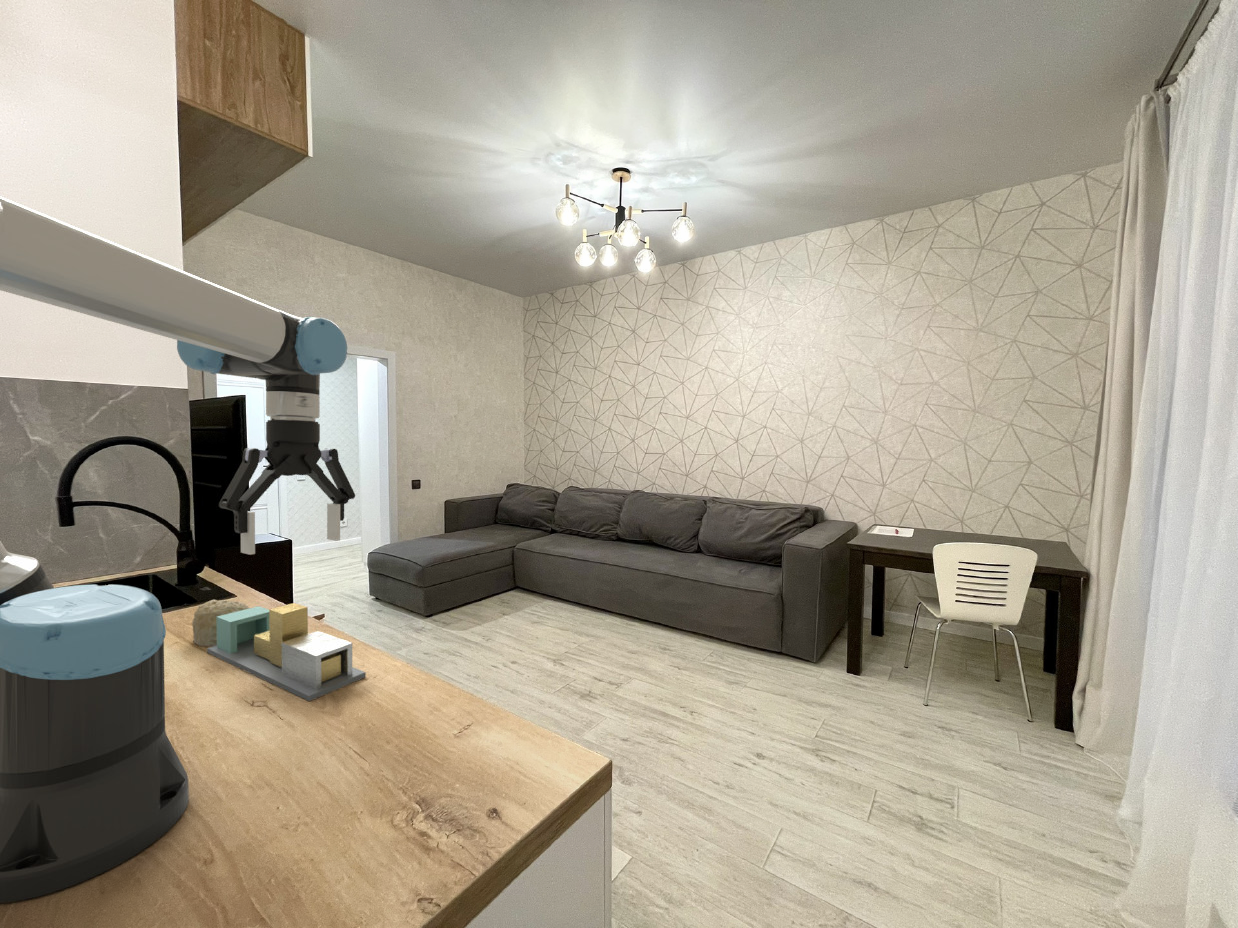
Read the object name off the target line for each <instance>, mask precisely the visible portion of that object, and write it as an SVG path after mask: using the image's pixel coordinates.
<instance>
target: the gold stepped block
mask: <svg viewBox="0 0 1238 928" xmlns="http://www.w3.org/2000/svg"><path fill="white" fill-rule="evenodd" d="M268 610H269V631H267V632H264V633H260V634H257V635H254V654H257V655H259V656H261V657H263V658H266V659H268V660H270V663H273V664H275V665H277V666H279V667H282V642H285V641H288V640H291V639H294V638H297V637H301V636H304V635H307V634H309V630H308V628H309V627H308V626H309V625H308V622H309V620H308V619H309V616H308V614H309V613H308V611H309V610H308V606H305V605H303V604H300V603H294V602H293V603H288V604H285V605H281V606H277V607H273V608H270V609H268ZM338 675H341V655H340V654H337V653H333V654H331V655H328V656H325V657H323V658H321V682H323V681H326V680H328V679H331V678H333V677H336V676H338Z"/></svg>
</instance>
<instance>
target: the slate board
mask: <svg viewBox="0 0 1238 928" xmlns="http://www.w3.org/2000/svg"><path fill="white" fill-rule="evenodd" d="M206 653H207V654H209V655H211V656H213V657H215V658H217V659H220V660H222V661H224V662H226V663H228V664H230V665H232V666H233V667H236V668H238V669H241V670H242V671H245V672H247V673H249V674H251V675H253V676H255V677H257V678H259V679H261V680H264V681H266V682H268V683H269V684H272V685H274V686H276V687H278V688H280V689H282V690H285V691H286V692H288V693H291V694H293V695H295V696H297V697H299V698H301V699H303V700H306V701H308V702H310V701H314V700H315V699H317V698H320V697H322V696H325V695H327V694H330V693H331V692H334V691H336V690H338V689H340V688H342V687H343V688H344V687H345V686H348V685H350V684H352V683H354V682H355V683H356V681H360V680H361V679H364V678H366V675H367V674H366V673H367V672H366V671H363V670H361V669H358V668H357V667H354V666H352V675H350V676H345V675H343V674H341V675H338V676H336V677H333V678H331V679H328V680H326V681H323V682H321V688H319V689H313V688H311V687H309V686H307V685H305V684H302V683H300V682H298V681H296V680H294V679H291V678H289V677H287V676H285V675H283V674H282V667H279V666H277V665H275V664H273V663H270V660H268V659H266V658H263V657H261V656H259V655H257V654H254V638H253V639H250V640H247V641H243V642H240V643H237V652H234V653H231V654H230V653H228V652H226V651H224V650H222V649H220V648H217V645H216V646H208V647H207V648H206Z"/></svg>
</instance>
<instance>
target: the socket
mask: <svg viewBox="0 0 1238 928" xmlns="http://www.w3.org/2000/svg"><path fill="white" fill-rule="evenodd" d="M216 620H217V648H220V649H222V650H224V651H226V652H228V653H230V654H231V653H234V652H237V643H240V642H243V641H247V640H250V639H253V638H254V635H257V634H260V633H264V632H267V631H269V609H268V608H266V607H262V606H259V605H258V606H254V607H251V608H250V607H249V609H245V610H241V611H237V612H233V613H229V614H225V615H221V616H217V617H216Z"/></svg>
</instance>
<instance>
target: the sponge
mask: <svg viewBox="0 0 1238 928" xmlns="http://www.w3.org/2000/svg"><path fill="white" fill-rule="evenodd" d="M249 608H250V607H249V606H248V605H247V604H246V603H243V602H239V601H238V600H237V601H235V600H224V599H222V600H217V599H211V600H209V601H206V602H204V603H202V604H199V605H198V606H197V608H196V611H195V612H194V614H193V615H194V616H193V618H192V632H193V637H192V638H193V643H194V644H196V645H198V646H200V647H201V646H202V647H213V646H216V645H217V620H216V617H217V616H221V615H225V614H229V613H233V612H237V611H241V610H245V609H249Z"/></svg>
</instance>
